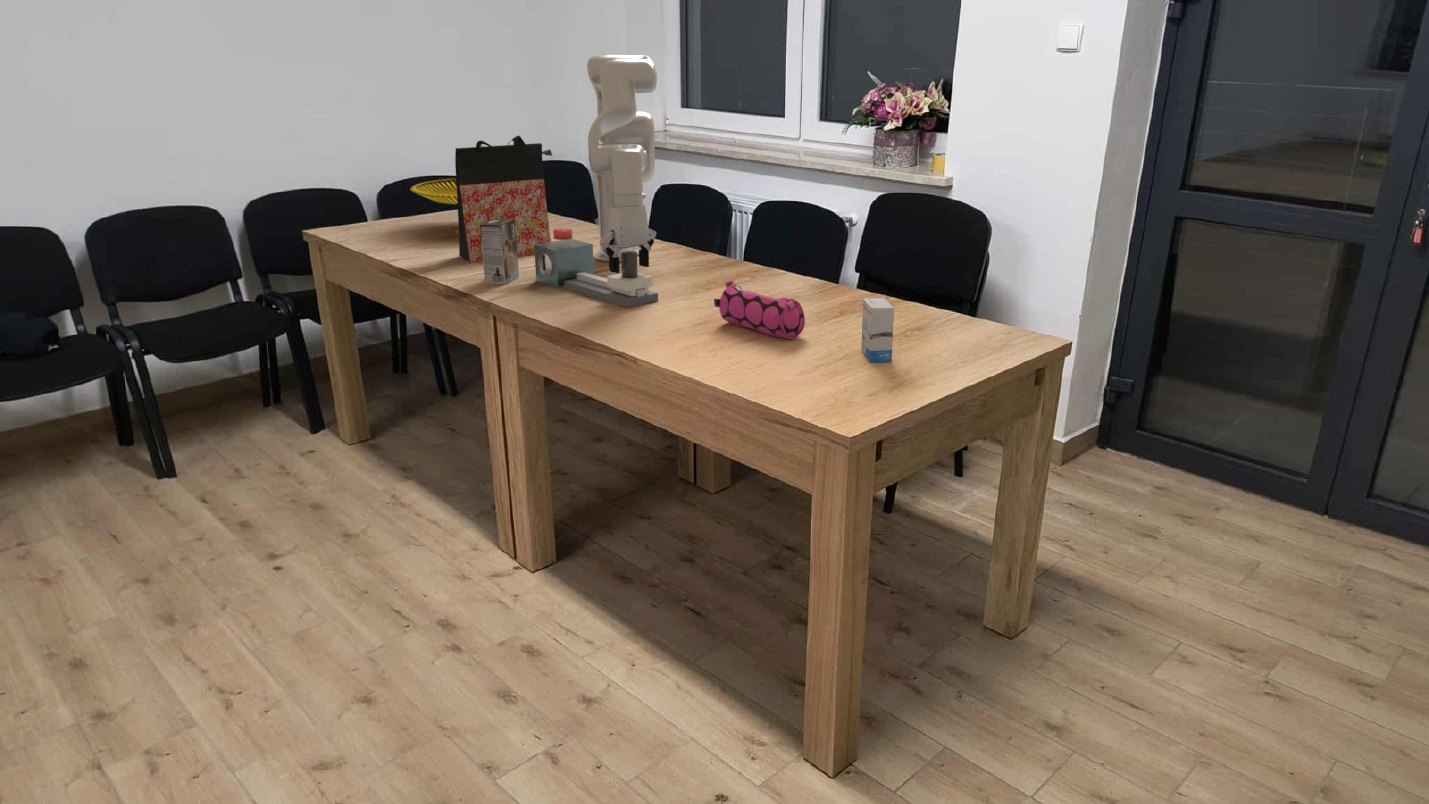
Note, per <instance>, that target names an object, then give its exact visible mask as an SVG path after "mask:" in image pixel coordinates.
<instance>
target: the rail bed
mask: <svg viewBox="0 0 1429 804" xmlns="http://www.w3.org/2000/svg"><path fill="white" fill-rule="evenodd" d="M564 285H565V287H564V289H565V290H568V291H571V292H575V293H578V294H581V295H585V296H588V297H591V298H594V299H597V300H600V301H603V302H607V303H609V304H610V303H611V304H613V305H616V306H619V307H620V306H621V307H623V308H627V309H629V308H630V309H631V308H633V307H637V306H642V305H646V304H650V303H654V301H655V302H658V301H659V292H656V291H653V290H649V293H645V289H642V288H641V289H637V290H636V296H629V295H625V294H622V293H619V292H615V291H612V287H611V286H608V285H607V277H603V276H600V275H596V274H594V275H593V274H589V273H586V272H582V273H577V279H572V280H567V281H564Z"/></svg>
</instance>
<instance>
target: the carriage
mask: <svg viewBox="0 0 1429 804" xmlns="http://www.w3.org/2000/svg"><path fill="white" fill-rule="evenodd" d="M620 263H621V269H620V271H621V272H619V273H615V274H611V275H607V276H606V278H607V285H608V286H611V287H612V291H615V292H619V293H622V294H625V295H629V296H636V290H637V289H641V288H642V289H645V293H649V291H650V290H649V288H650V287H653V275H652V276H651V275H647V274H643V273H639V271H638V252H637V251H635V252H634V251H625V252H621V261H620Z"/></svg>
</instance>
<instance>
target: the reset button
mask: <svg viewBox="0 0 1429 804" xmlns="http://www.w3.org/2000/svg"><path fill="white" fill-rule="evenodd" d="M552 232H553V234H552V235H553V239H554V240H556V241H559V240H567V239H573V230H572V229H571V228H556V229H554V230H553V231H552Z"/></svg>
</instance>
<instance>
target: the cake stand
mask: <svg viewBox="0 0 1429 804" xmlns="http://www.w3.org/2000/svg"><path fill="white" fill-rule="evenodd" d="M410 191H411V192H412V193H414V194H417V195H418V196H419V195H420V196H421V197H423V198H426V199H428V200H430V201H432V202H436V203H438V204H439V203H440V204H448V205H458V203H457V185H456V178H446V179H437V180H431V181H424V182H420V183H417V184H414V185H412V186H411V187H410ZM454 232H455V233H456V234H457V235H459V228H457V229H455V231H454Z"/></svg>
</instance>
